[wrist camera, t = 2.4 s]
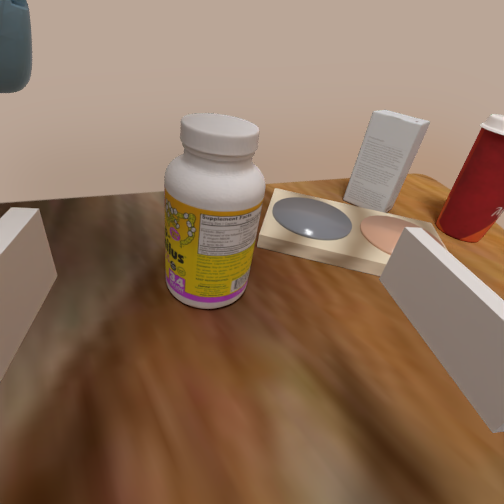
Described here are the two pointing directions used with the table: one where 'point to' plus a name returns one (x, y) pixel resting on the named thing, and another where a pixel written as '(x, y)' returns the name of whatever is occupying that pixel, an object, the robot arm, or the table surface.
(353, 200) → the skincare box
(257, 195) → the supplement bottle
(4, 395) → the table surface
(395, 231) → the terracotta pad
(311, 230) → the slate pad
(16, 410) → the table surface
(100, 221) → the table surface
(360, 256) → the birch board
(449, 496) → the table surface
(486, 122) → the paper cup
